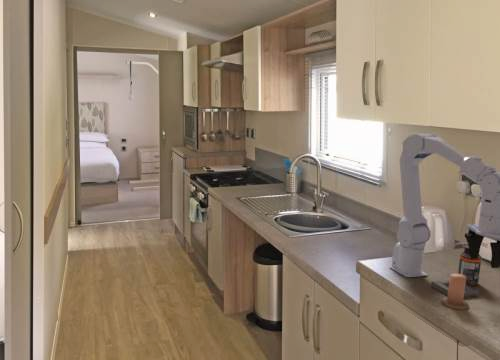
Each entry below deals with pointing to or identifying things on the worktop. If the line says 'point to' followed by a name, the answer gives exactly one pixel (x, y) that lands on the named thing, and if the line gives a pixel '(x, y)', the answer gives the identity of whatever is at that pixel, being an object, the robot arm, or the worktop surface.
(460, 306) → the coaster
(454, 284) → the peg
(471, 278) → the supplement bottle
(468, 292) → the eye block
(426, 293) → the worktop surface
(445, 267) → the worktop surface
